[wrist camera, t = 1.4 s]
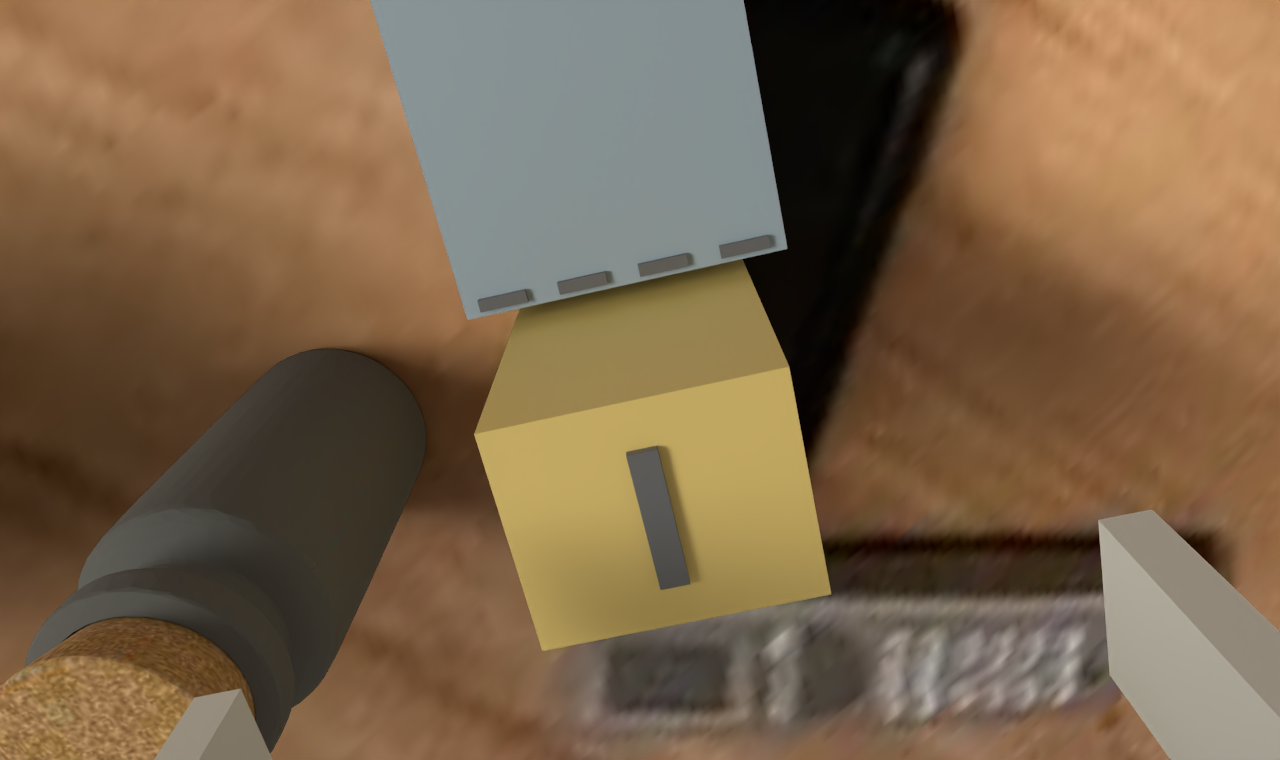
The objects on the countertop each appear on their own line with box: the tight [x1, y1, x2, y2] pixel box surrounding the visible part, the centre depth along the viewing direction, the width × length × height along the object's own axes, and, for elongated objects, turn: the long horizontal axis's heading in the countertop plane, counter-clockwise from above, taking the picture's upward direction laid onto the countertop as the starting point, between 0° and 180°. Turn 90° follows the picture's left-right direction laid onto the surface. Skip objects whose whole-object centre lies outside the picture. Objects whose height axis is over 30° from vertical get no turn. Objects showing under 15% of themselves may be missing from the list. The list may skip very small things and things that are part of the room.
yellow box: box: [474, 259, 831, 651], centre depth 25 cm, size 5×6×12 cm
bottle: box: [0, 349, 426, 760], centre depth 25 cm, size 6×6×15 cm
